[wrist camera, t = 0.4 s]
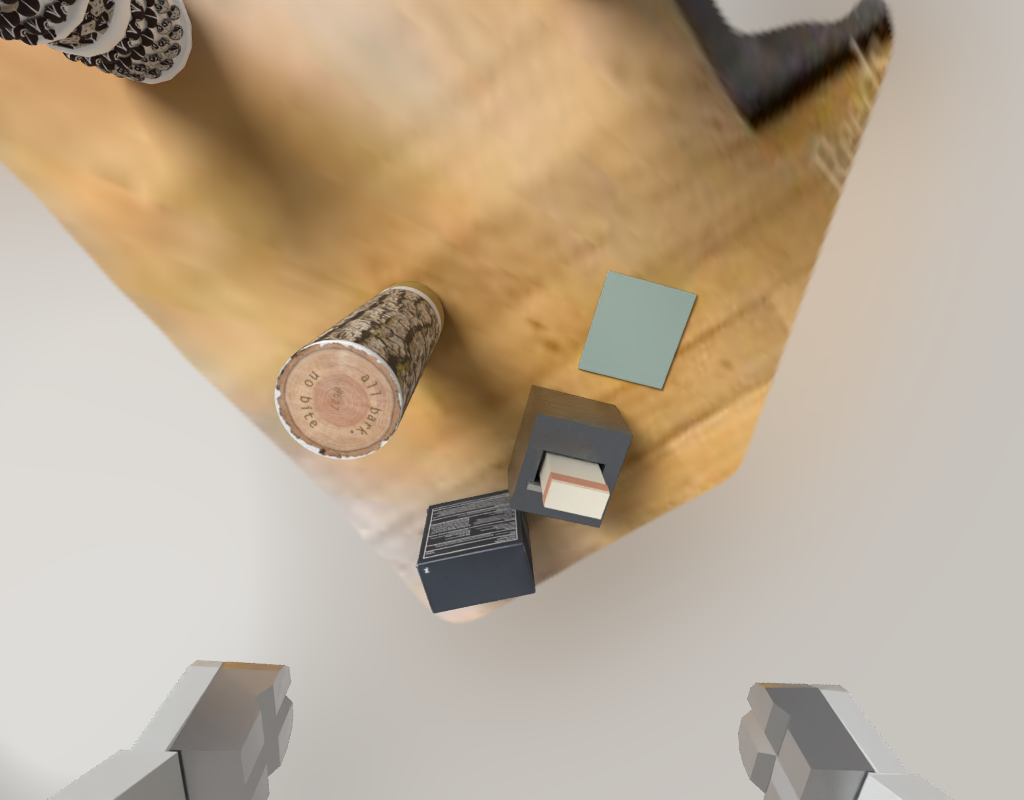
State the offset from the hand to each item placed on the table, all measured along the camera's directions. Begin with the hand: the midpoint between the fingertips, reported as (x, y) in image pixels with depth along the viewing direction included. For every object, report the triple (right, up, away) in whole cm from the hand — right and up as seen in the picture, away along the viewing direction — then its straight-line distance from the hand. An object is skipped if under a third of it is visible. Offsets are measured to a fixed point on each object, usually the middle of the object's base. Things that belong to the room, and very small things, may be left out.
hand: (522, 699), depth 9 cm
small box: (-4, -8, +51) cm, 52 cm away
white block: (+5, 0, +45) cm, 45 cm away
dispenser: (+5, +1, +48) cm, 48 cm away
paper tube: (-10, +14, +43) cm, 46 cm away
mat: (+12, +12, +44) cm, 47 cm away
